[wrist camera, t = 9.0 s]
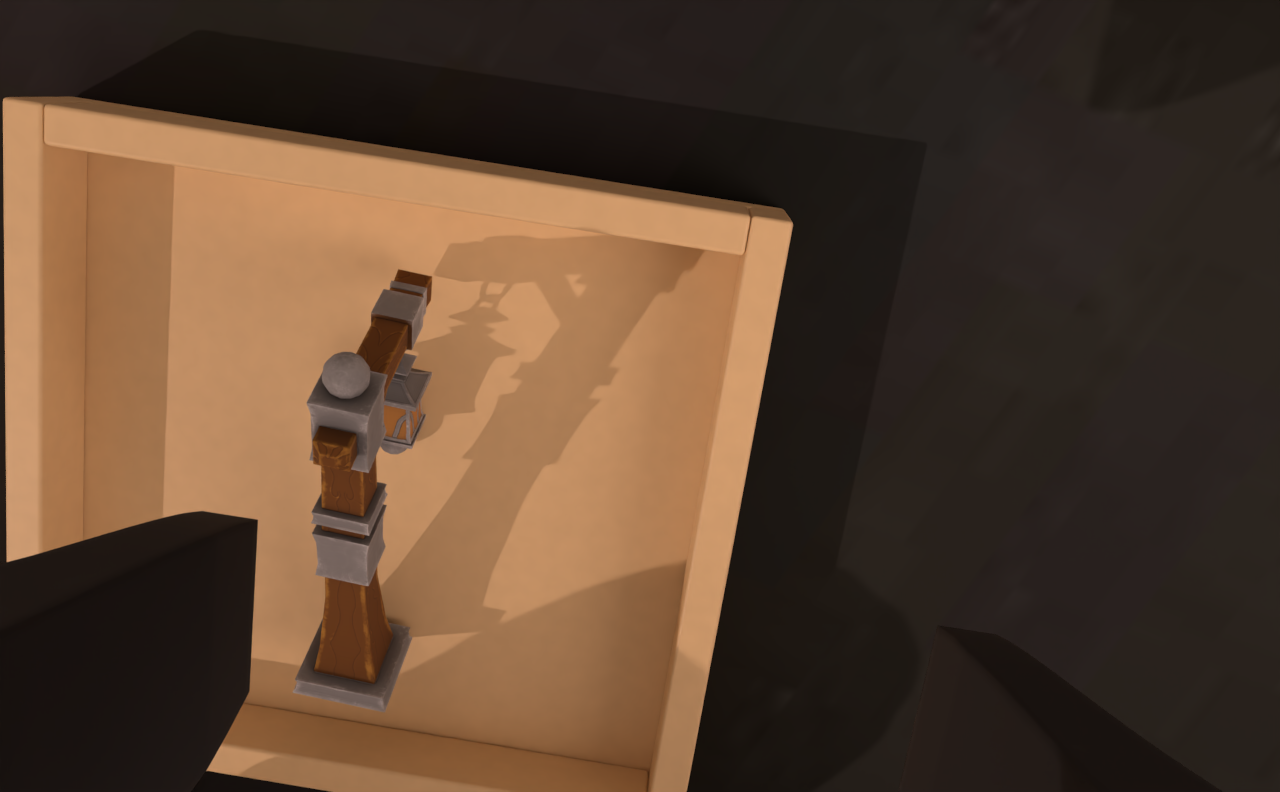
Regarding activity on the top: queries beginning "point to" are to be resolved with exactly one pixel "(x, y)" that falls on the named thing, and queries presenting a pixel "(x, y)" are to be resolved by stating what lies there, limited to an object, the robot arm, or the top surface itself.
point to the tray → (446, 445)
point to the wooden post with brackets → (362, 497)
